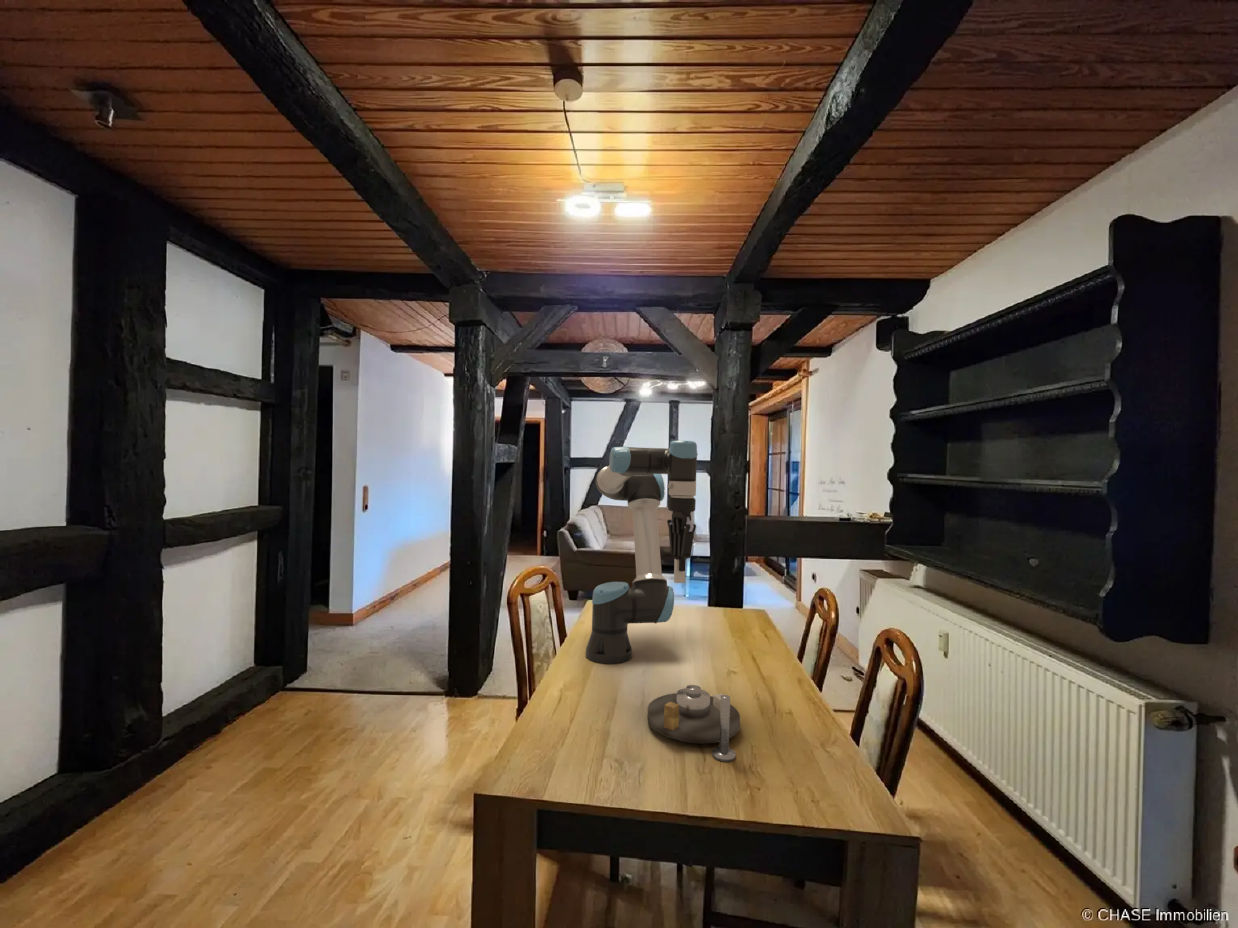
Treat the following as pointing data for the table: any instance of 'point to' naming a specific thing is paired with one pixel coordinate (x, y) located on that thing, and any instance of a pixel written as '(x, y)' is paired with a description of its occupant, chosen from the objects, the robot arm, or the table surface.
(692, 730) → the turntable
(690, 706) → the cover
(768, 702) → the table surface
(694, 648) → the table surface
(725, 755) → the dial post
